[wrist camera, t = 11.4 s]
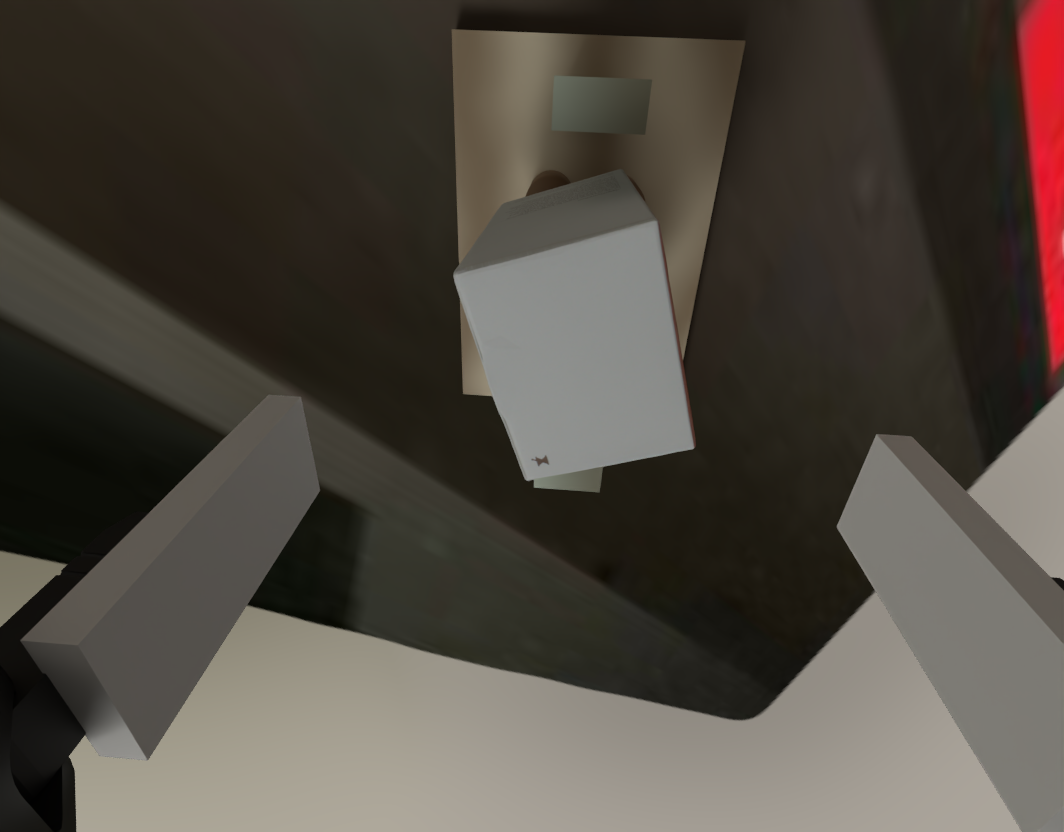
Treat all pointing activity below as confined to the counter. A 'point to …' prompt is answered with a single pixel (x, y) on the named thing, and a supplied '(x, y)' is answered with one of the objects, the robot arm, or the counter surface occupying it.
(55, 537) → the counter surface
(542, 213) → the small box
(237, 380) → the counter surface
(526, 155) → the peg stand
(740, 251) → the counter surface
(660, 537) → the counter surface
